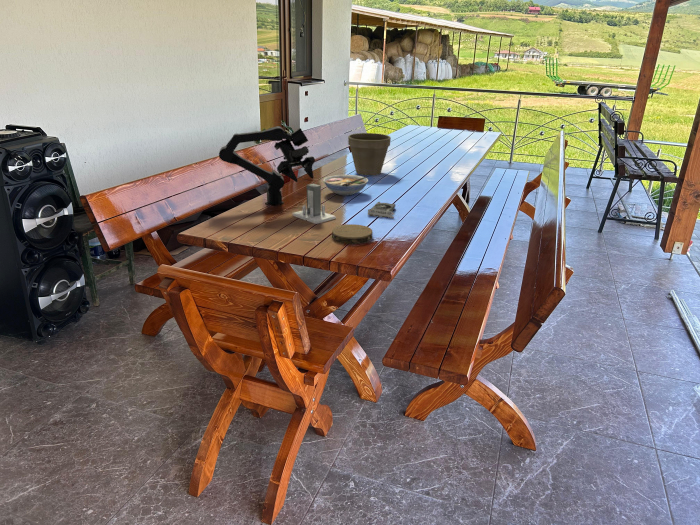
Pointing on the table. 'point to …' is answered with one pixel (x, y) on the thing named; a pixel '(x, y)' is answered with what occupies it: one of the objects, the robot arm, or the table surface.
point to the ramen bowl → (345, 184)
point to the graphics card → (382, 210)
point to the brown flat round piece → (352, 234)
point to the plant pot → (368, 152)
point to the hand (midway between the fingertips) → (305, 179)
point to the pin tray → (311, 218)
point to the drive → (314, 199)
